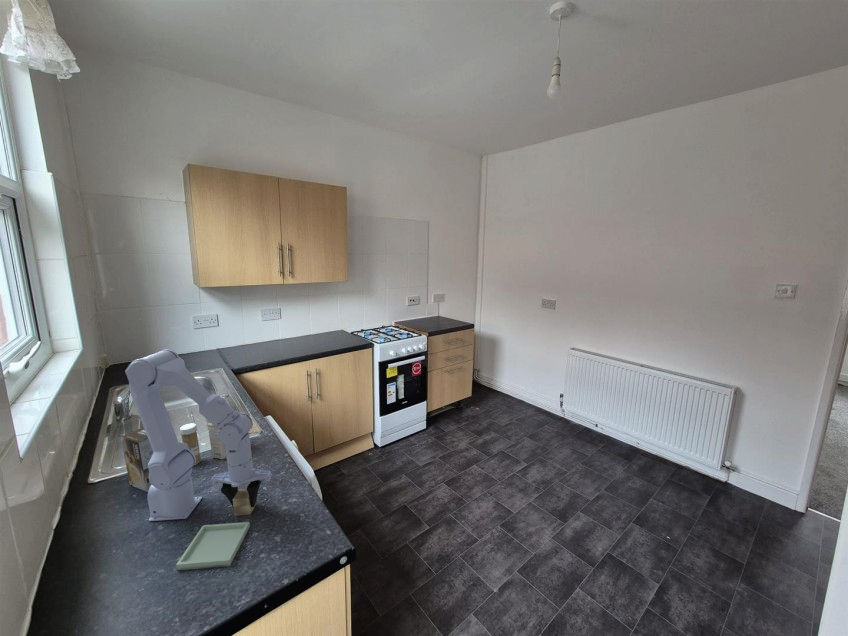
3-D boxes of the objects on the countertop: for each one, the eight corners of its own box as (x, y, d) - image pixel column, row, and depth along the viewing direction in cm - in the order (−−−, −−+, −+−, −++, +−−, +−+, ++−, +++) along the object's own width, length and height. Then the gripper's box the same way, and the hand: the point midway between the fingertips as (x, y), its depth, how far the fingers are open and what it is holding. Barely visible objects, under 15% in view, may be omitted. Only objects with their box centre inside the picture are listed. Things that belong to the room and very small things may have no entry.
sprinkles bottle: (201, 464, 114) (196, 427, 112) (184, 469, 112) (179, 430, 109) (201, 457, 118) (196, 421, 116) (185, 462, 116) (179, 425, 113)
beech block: (234, 515, 92) (232, 499, 91) (240, 505, 96) (239, 489, 95) (250, 514, 92) (248, 498, 91) (255, 504, 96) (254, 488, 95)
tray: (176, 570, 76) (176, 564, 76) (203, 530, 87) (202, 525, 87) (230, 565, 77) (229, 560, 77) (249, 527, 88) (249, 521, 88)
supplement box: (229, 446, 125) (225, 412, 123) (241, 447, 124) (237, 413, 122) (211, 459, 117) (206, 423, 115) (223, 460, 116) (219, 425, 114)
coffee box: (170, 479, 107) (162, 432, 104) (147, 493, 101) (138, 442, 98) (151, 472, 110) (143, 426, 107) (127, 485, 104) (119, 436, 101)
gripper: (202, 471, 87) (209, 518, 89) (262, 467, 88) (267, 514, 91) (216, 455, 94) (222, 499, 96) (272, 451, 95) (276, 495, 98)
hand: (244, 505), depth 94 cm, fingers closed on beech block, 4 cm apart
